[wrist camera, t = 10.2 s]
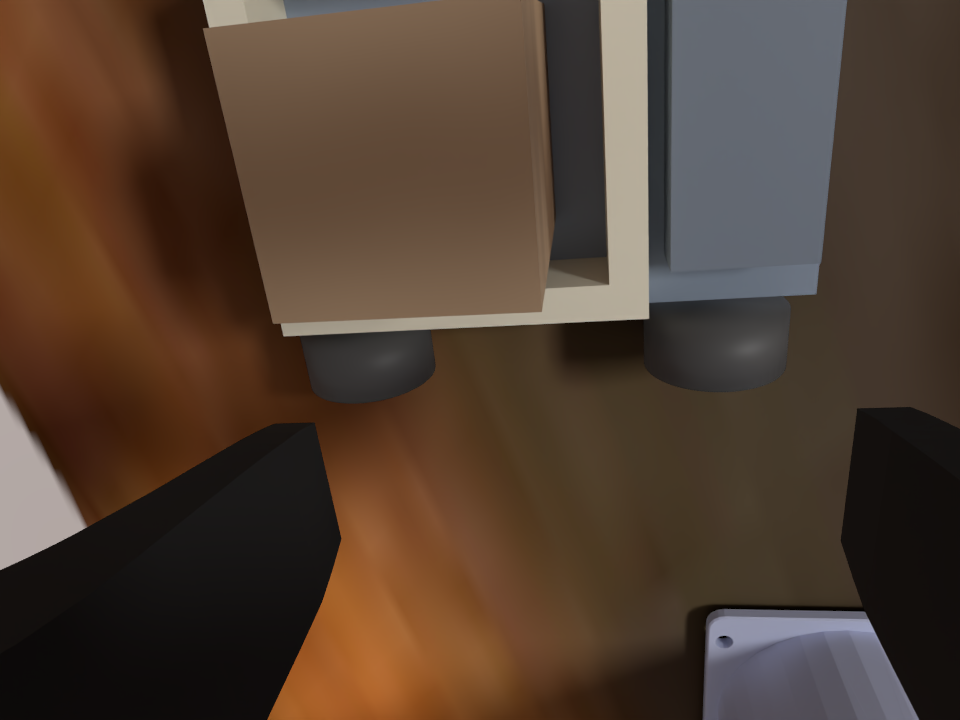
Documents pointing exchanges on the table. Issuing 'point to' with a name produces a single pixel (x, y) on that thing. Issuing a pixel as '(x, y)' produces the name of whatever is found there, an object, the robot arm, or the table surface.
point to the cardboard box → (394, 158)
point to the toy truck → (648, 187)
